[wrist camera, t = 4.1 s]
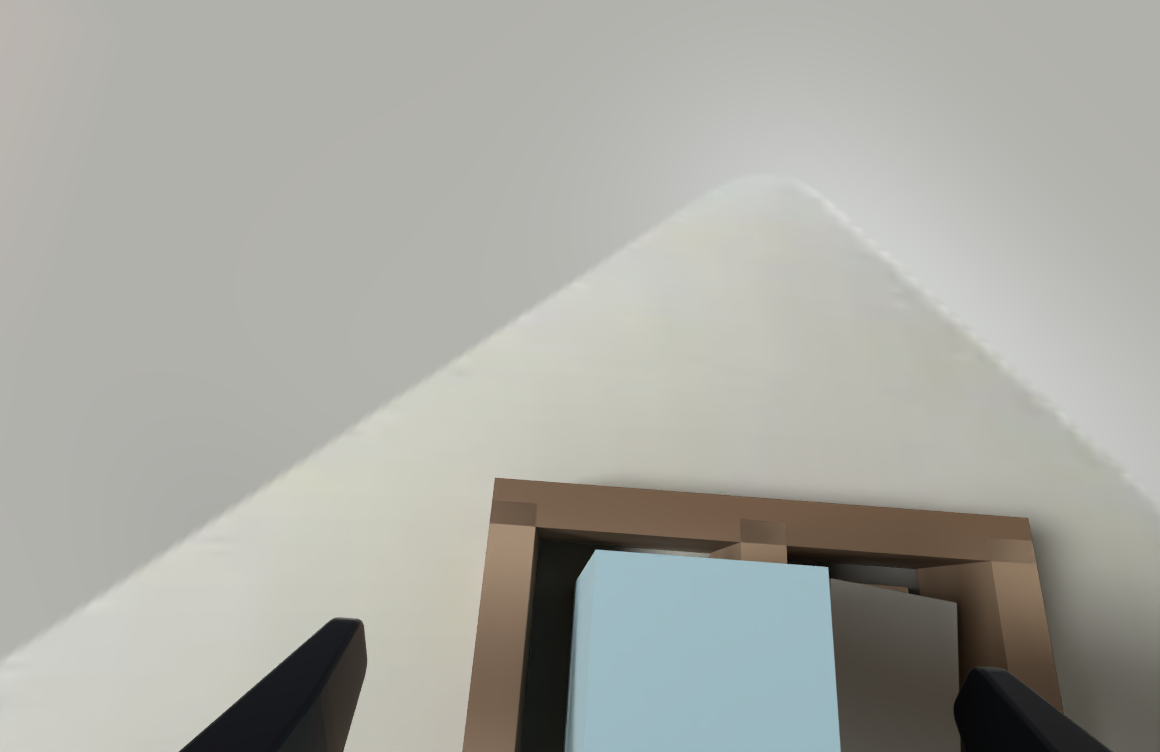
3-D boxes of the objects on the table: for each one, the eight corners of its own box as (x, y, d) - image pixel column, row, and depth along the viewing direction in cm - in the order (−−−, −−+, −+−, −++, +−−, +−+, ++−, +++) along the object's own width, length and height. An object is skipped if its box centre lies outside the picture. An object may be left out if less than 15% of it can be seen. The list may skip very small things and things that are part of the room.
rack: (1003, 924, 14) (1117, 1007, 11) (463, 886, 14) (438, 957, 11) (949, 533, 17) (1027, 518, 14) (506, 499, 17) (495, 477, 14)
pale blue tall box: (666, 819, 14) (872, 1226, 5) (558, 811, 14) (557, 1204, 5) (670, 590, 16) (827, 566, 7) (574, 583, 16) (595, 549, 7)
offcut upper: (921, 855, 13) (964, 885, 12) (792, 828, 13) (819, 853, 12) (920, 603, 15) (956, 602, 14) (805, 580, 15) (831, 578, 14)
